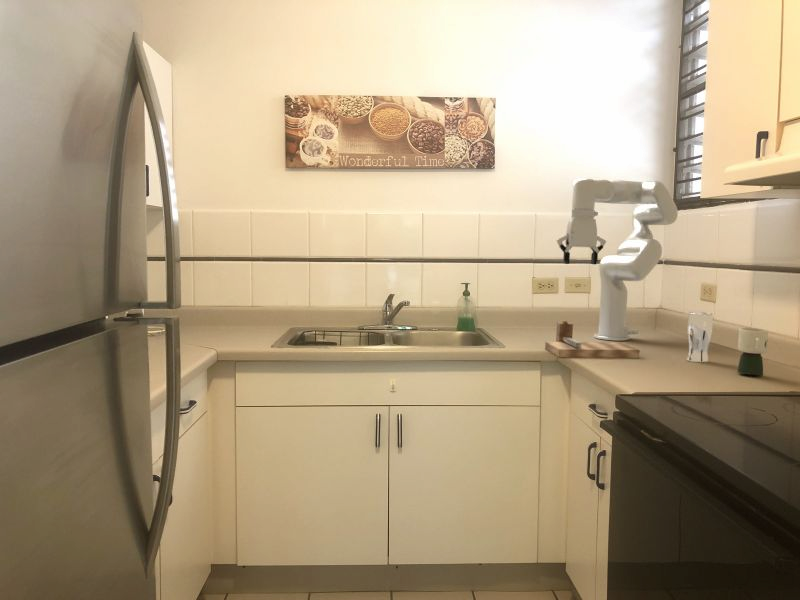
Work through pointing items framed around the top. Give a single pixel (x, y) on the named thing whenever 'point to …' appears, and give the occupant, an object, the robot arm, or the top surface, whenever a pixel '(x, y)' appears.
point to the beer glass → (699, 336)
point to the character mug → (752, 350)
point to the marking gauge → (566, 334)
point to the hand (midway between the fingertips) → (580, 263)
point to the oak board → (592, 350)
